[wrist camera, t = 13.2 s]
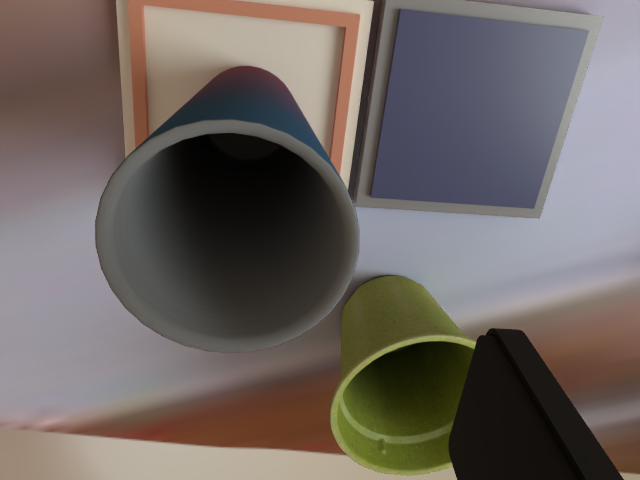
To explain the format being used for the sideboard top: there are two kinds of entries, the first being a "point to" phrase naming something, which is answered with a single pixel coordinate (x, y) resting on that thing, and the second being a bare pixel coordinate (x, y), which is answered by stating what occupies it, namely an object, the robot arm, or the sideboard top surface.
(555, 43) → the ink pad
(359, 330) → the plant pot
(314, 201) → the cup
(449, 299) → the sideboard top surface
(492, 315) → the sideboard top surface
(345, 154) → the cream flat square piece
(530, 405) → the robot arm
